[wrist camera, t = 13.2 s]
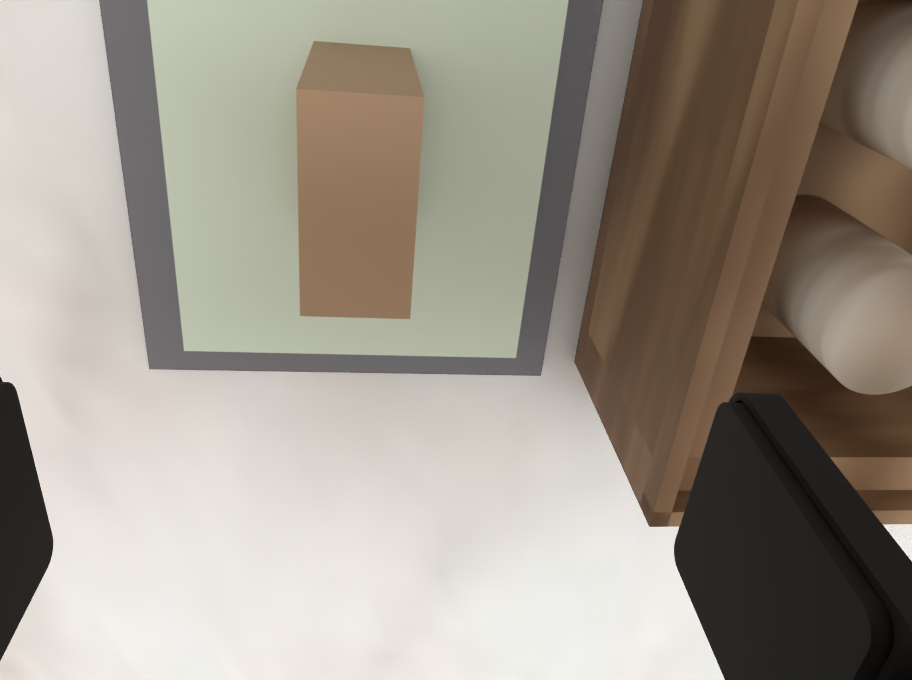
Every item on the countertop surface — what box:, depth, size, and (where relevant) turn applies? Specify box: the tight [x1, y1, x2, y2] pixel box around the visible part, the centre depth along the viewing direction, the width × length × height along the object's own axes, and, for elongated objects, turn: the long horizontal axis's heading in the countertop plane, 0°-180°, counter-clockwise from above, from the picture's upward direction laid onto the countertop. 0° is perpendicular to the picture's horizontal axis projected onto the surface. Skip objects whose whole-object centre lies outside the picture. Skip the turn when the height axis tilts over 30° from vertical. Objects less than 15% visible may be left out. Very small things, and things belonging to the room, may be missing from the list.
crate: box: [575, 0, 912, 527], centre depth 25 cm, size 15×19×10 cm
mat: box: [99, 0, 603, 376], centre depth 26 cm, size 16×20×1 cm
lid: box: [147, 0, 569, 358], centre depth 23 cm, size 13×17×8 cm
